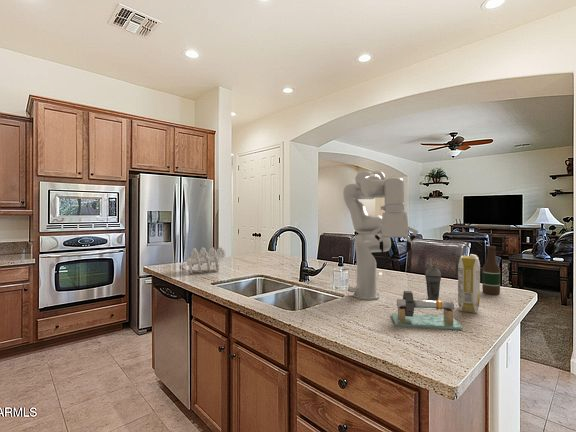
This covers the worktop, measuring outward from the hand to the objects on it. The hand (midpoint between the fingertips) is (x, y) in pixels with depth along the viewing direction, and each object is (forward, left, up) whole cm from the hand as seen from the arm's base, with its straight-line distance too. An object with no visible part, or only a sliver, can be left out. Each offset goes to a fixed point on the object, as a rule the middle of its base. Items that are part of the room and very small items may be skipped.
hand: (394, 251), depth 128 cm
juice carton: (+32, +15, -27) cm, 45 cm away
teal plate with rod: (+10, -4, -27) cm, 29 cm away
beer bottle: (+53, +46, -27) cm, 76 cm away
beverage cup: (+21, +29, -27) cm, 45 cm away
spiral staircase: (-117, +74, -27) cm, 141 cm away
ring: (+4, -4, -24) cm, 25 cm away
